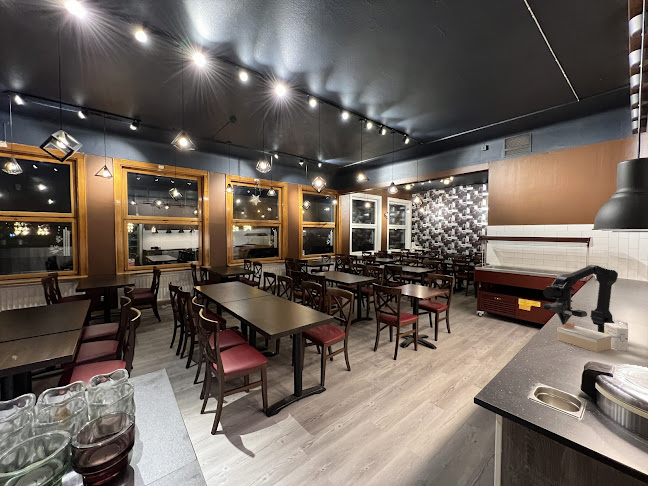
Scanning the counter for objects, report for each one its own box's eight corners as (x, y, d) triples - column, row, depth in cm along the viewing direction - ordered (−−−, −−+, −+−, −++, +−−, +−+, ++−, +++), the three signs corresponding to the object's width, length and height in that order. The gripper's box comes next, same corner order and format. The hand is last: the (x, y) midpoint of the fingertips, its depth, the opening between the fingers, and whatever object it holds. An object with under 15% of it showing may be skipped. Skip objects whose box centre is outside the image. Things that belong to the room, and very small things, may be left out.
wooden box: (570, 336, 155) (571, 326, 155) (610, 348, 139) (611, 337, 139) (557, 339, 151) (557, 329, 151) (596, 352, 135) (597, 340, 135)
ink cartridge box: (602, 343, 145) (603, 317, 145) (613, 344, 144) (614, 317, 144) (616, 350, 137) (617, 322, 136) (628, 351, 136) (629, 322, 135)
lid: (571, 328, 155) (572, 321, 155) (611, 339, 139) (612, 331, 139) (556, 331, 151) (556, 324, 151) (596, 342, 134) (596, 334, 134)
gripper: (537, 295, 159) (536, 321, 159) (575, 303, 141) (574, 332, 142) (549, 294, 163) (549, 319, 163) (588, 301, 145) (587, 329, 146)
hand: (563, 324), depth 153 cm, fingers closed
